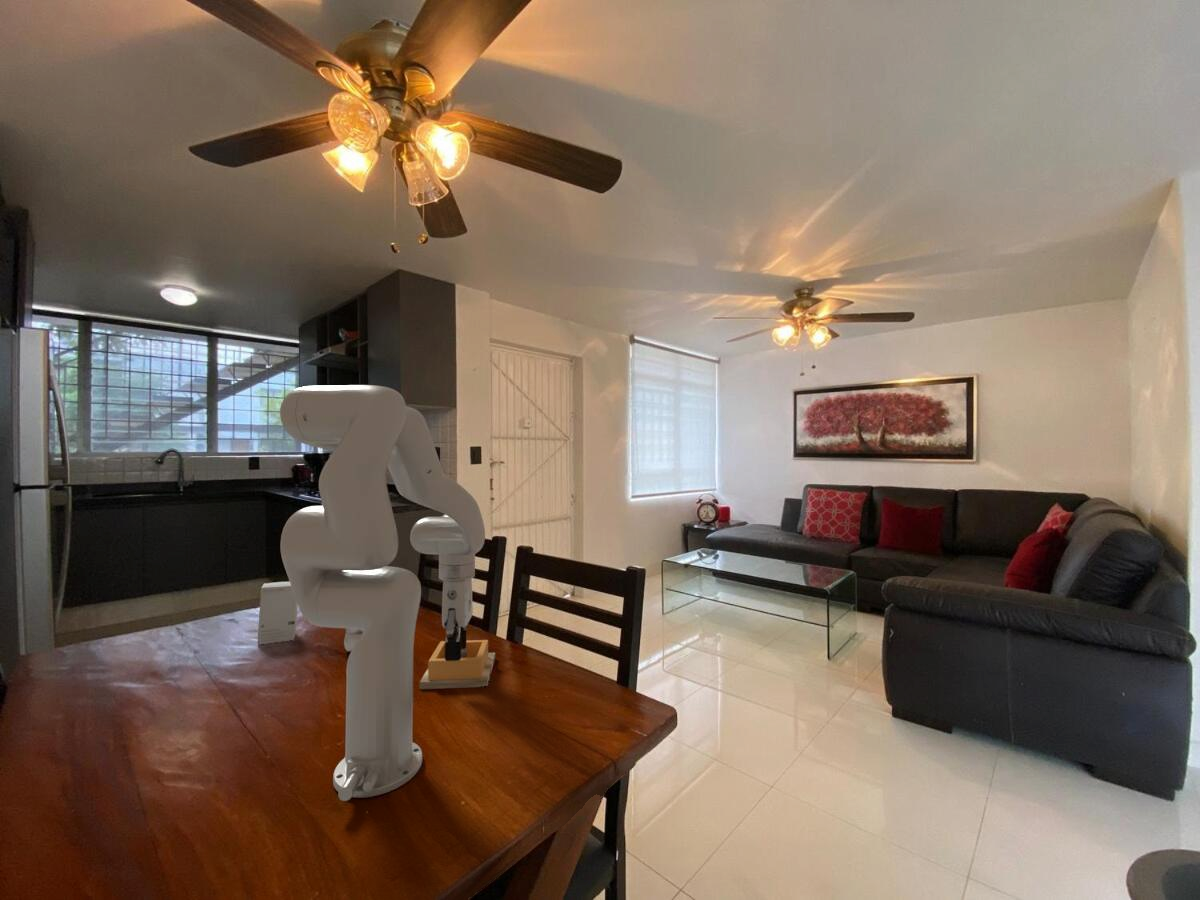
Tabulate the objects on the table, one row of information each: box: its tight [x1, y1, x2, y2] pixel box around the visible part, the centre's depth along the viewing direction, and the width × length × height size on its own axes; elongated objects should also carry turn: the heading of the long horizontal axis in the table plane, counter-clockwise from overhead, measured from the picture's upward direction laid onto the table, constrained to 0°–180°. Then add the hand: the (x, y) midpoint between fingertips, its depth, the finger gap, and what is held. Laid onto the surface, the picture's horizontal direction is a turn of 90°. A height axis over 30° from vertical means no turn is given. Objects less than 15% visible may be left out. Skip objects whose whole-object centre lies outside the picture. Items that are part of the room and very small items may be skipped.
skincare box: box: [256, 581, 298, 646], centre depth 126 cm, size 8×6×15 cm
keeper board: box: [419, 650, 496, 690], centre depth 107 cm, size 14×14×4 cm
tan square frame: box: [427, 639, 489, 680], centre depth 106 cm, size 11×11×4 cm
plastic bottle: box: [343, 628, 363, 653], centre depth 119 cm, size 6×7×20 cm
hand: (455, 653), depth 102 cm, fingers open, 5 cm apart
